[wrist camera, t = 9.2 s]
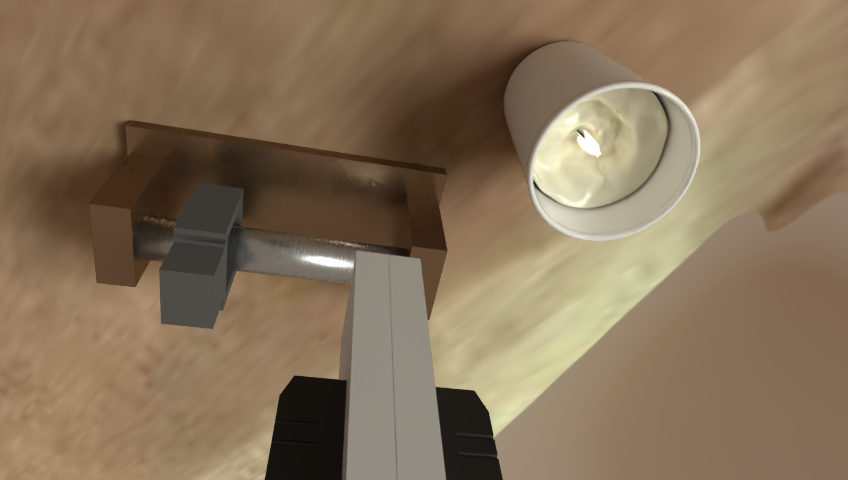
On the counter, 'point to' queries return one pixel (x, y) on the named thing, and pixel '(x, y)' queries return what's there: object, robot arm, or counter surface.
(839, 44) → the counter surface
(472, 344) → the counter surface
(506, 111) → the candle holder
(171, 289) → the collar
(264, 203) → the pipe rig
